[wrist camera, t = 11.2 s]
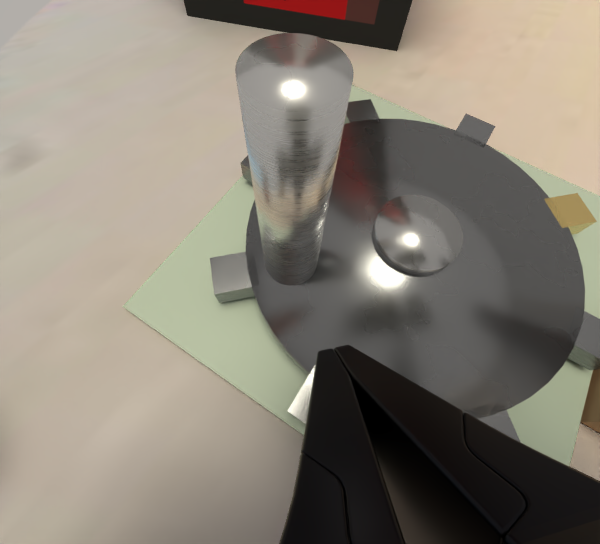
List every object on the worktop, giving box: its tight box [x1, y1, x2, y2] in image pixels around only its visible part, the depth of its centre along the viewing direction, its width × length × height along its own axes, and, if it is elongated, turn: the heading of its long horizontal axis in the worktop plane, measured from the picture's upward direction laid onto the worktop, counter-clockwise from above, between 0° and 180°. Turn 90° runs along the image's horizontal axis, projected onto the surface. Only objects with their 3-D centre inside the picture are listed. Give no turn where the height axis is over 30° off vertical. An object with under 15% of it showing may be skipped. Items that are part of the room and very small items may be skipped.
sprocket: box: [210, 33, 600, 442], centre depth 12 cm, size 19×19×10 cm
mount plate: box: [123, 85, 600, 466], centre depth 17 cm, size 20×20×1 cm
